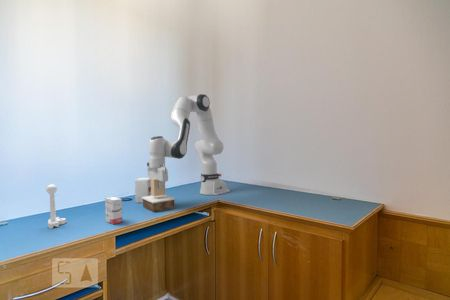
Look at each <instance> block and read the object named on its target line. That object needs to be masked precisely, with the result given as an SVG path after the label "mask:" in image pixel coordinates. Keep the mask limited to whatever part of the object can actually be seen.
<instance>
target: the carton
mask: <svg viewBox="0 0 450 300" xmlns="http://www.w3.org/2000/svg"><path fill="white" fill-rule="evenodd" d="M158 185H159V181H158V180H157V179H154V178H151V196H154V197H156V196H162V195H166V182H163V185H162V188H158Z"/></svg>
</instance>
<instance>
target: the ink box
mask: <svg viewBox="0 0 450 300" xmlns="http://www.w3.org/2000/svg"><path fill="white" fill-rule="evenodd" d="M104 200H105V202H104V203H105V204H104V205H105V206H104V208H105V222H106V223H110V224H112V225H116V224H120V223H123V199H122V198H119V197H116V196H110V197H106V198H105V199H104Z"/></svg>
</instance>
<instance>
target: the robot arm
mask: <svg viewBox="0 0 450 300" xmlns="http://www.w3.org/2000/svg"><path fill="white" fill-rule="evenodd" d="M210 102H211V101H210V98H209V96H207V94H202V93H199V94H192V95H188V96H181V97H179V98H178V99H177V101H176V102H175V104H174V105H173V108H172V111H171V114H170V120H171V122H172V123H173V125H175V126H176V127H178V128H179V133H178V138H177V139H176V140H175V141H169V140H166V139H165V138H164V137H163V135H158V136H153V137H151V138H150V139H149V145H148V147H149V148H148V151H149V161H147V162H146V167H147V178H154V179H157V180H158V181H159V185H158V188H162V185H163V182H165V183H166V182H168V181H169V172H168V168H167V167H166V158H173V159H183V158H184V157H185V155H186V154H187V151H188V148H187V147H188V141H189V134H190V127H191V122H190V120H189V117H190V114H191V113H196V121H197V122H196V123H197V128H198V132H199V134H200V135H201V136H202V139H198V140H196V142H195V144H194V149H195V151H196V152H197V154H198V158H199V160H200V164H201V165H200V166H201V169H200V170H201V174H200V182H201V184H200V190H199V194H200V195H205V196H206V195H207V196H213V195H214V196H218V195H222V194H226V193H229V192H231V191H230V189H228V188H227V184H226V182H225V181H223V180H222V179H221V178H220V177H222V173H218V167H217V166H218V165H217V162H216V159H214V156H213V155H215V156H216V155H219V154H220V155H221V154H222V152H223V151H224V143H223V142H222V141H221V140H220V138H219V137H218V135H217V133H216V130H215V126H214V125H215V124H214V119H213V113H212V110H211V106H210V104H211V103H210Z"/></svg>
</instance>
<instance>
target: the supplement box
mask: <svg viewBox="0 0 450 300" xmlns="http://www.w3.org/2000/svg"><path fill="white" fill-rule="evenodd" d="M134 191H135V192H134V196H135V197H134V199H135V203H137V204H138V203H140V204H143V199H142V197H145V196H151V178H149V177H138V178H135V179H134Z"/></svg>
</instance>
